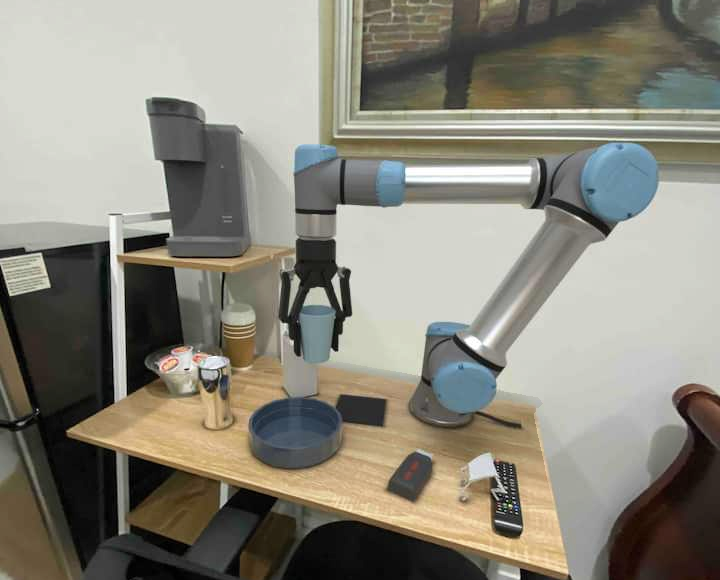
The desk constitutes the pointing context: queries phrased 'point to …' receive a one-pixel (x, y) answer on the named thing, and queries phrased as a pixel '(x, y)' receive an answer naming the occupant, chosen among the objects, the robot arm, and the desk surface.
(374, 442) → the desk surface
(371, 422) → the coaster
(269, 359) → the desk surface
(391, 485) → the usb drive
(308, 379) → the milk carton
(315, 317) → the cup
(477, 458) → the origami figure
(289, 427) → the bowl
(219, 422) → the silver metal cylinder
